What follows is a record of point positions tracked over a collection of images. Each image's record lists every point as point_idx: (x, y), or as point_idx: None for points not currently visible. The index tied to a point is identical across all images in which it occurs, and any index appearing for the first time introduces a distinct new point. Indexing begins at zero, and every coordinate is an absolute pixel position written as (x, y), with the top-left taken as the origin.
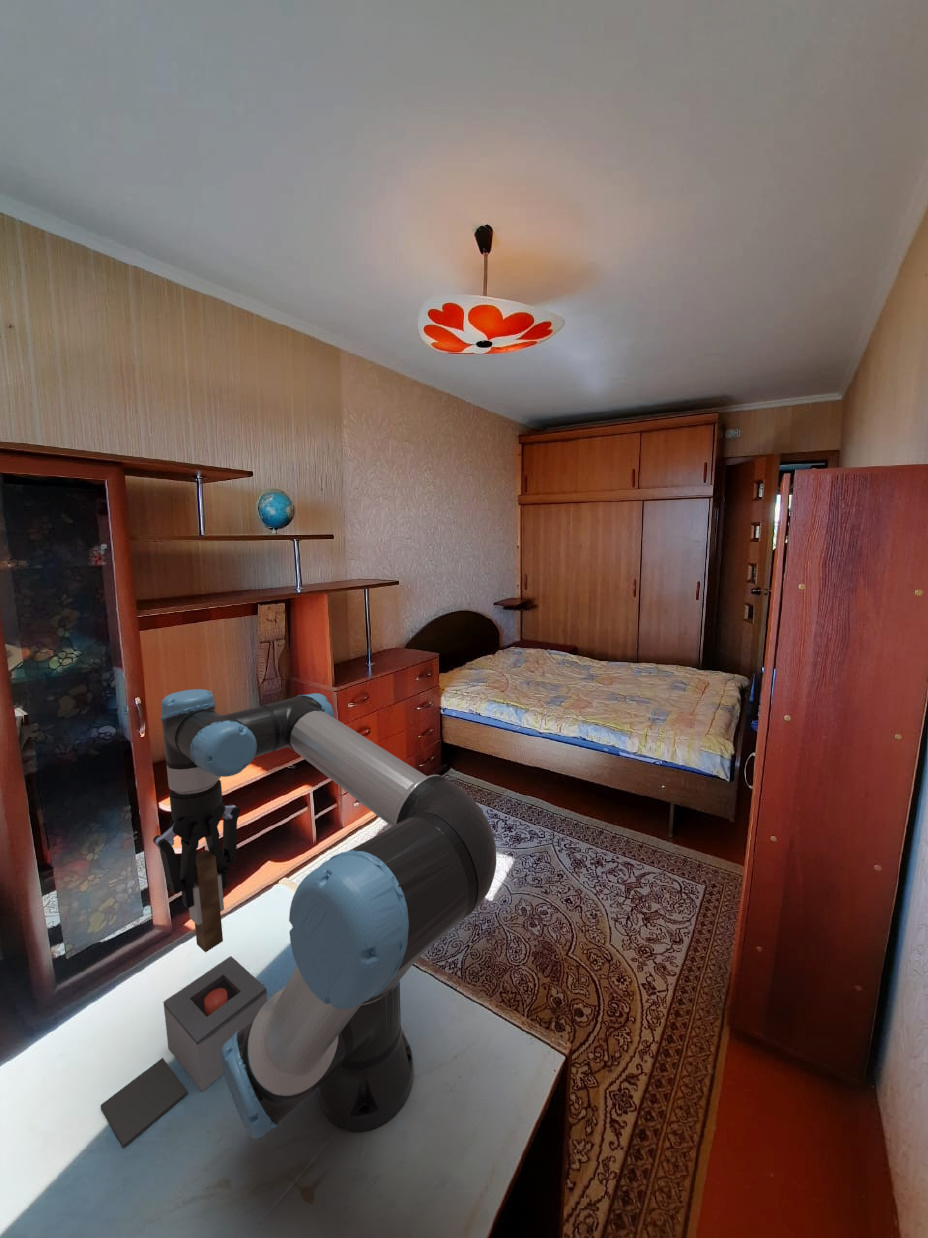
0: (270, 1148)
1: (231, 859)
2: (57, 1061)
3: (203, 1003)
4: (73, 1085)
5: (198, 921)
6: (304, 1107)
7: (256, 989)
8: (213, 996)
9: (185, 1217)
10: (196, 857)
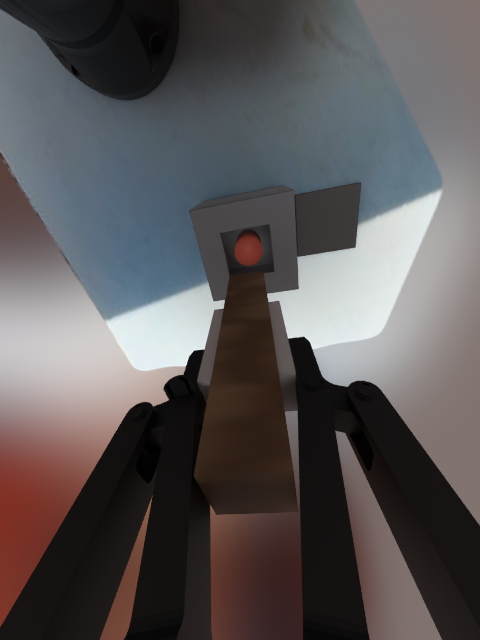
0: (251, 26)
1: (141, 421)
2: (355, 321)
3: None
4: (357, 288)
5: (277, 305)
6: (198, 48)
7: (201, 219)
8: (250, 255)
9: (354, 28)
10: (270, 504)
